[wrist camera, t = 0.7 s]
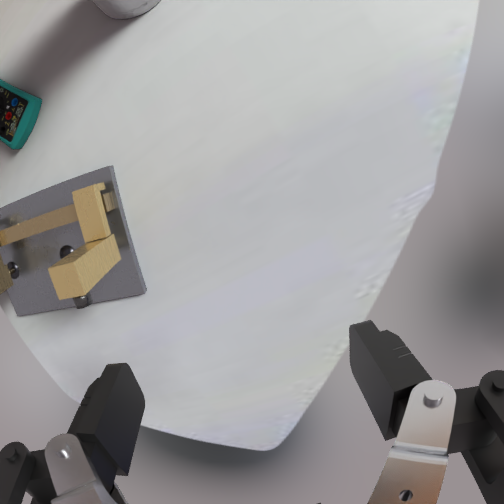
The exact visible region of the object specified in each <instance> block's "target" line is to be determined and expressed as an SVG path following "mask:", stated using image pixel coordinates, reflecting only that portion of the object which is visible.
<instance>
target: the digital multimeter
mask: <svg viewBox="0 0 504 504" xmlns="http://www.w3.org/2000/svg"><path fill="white" fill-rule="evenodd" d="M14 93H15V94H14ZM41 104H42V100H41V99H40V98H38V97H35V96H33V95H31V94H28V93H26V92H24V91H22V90H20V89H18V88H16V87H14V86H12V85H10V84H8V83H6V82H5V81H3V80H1V79H0V140H1V141H2V142H4V143H5V144H6V145H8V146H9V147H10V148H11V149H21V148H22V147H23V145H24V144H25V142H26V140H27V139H28V137H29V135H30V133H31V132H32V130H33V127H34V125H35V123H36V120H37V117H38V114H39V111H40V107H41Z"/></svg>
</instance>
